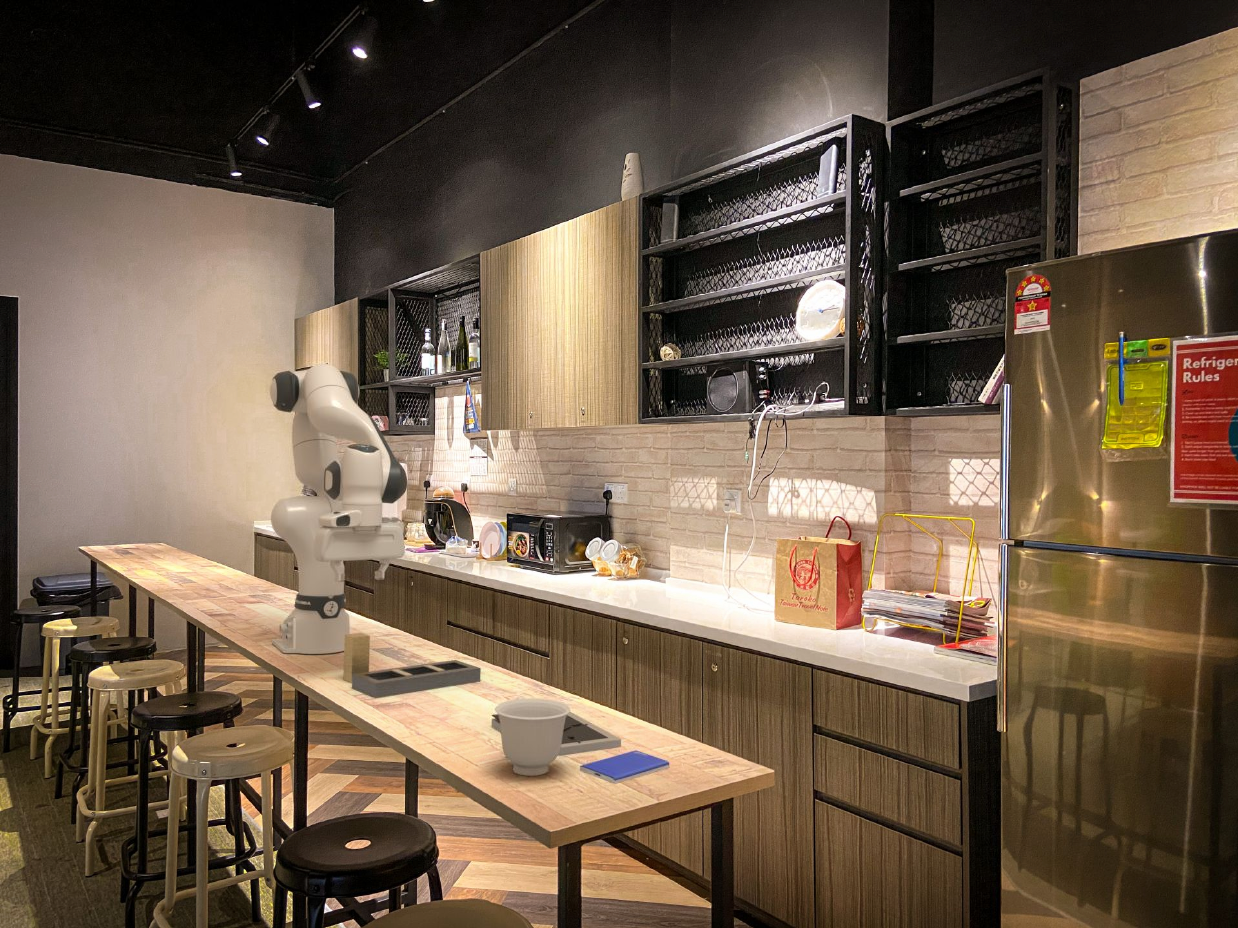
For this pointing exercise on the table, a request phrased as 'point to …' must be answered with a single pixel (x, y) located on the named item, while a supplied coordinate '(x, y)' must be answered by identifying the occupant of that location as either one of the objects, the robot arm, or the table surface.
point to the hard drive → (625, 766)
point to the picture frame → (579, 736)
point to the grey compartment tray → (415, 678)
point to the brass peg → (356, 655)
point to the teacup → (531, 733)
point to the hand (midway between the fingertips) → (359, 580)
